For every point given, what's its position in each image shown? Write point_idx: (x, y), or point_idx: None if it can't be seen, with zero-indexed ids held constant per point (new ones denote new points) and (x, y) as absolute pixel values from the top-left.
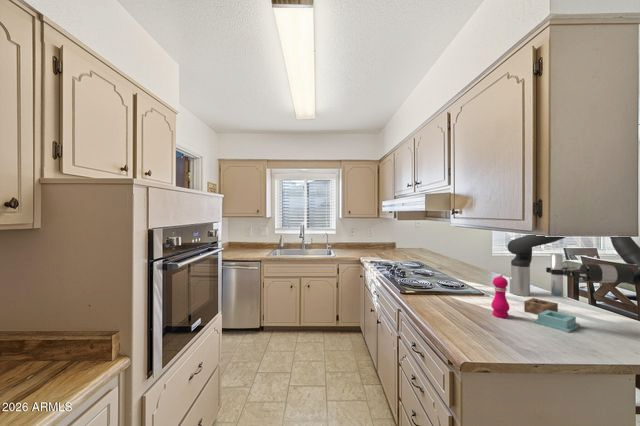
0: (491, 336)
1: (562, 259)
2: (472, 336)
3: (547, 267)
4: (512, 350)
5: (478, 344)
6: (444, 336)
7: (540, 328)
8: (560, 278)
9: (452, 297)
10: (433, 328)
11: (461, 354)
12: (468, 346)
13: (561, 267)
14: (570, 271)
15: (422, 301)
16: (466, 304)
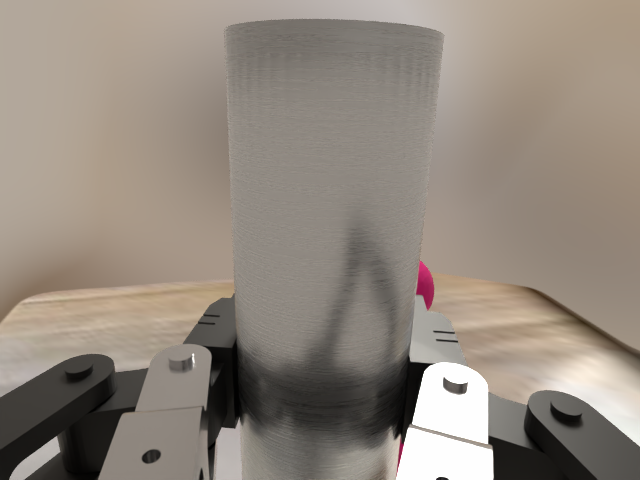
0: (138, 363)
1: (261, 158)
2: (147, 328)
3: (421, 296)
4: (25, 378)
5: (93, 327)
6: (157, 290)
7: None
8: (242, 469)
9: (584, 357)
10: (209, 283)
11: (56, 297)
12: (89, 311)
13: (238, 315)
14: (32, 386)
15: (444, 288)
16: (499, 378)
